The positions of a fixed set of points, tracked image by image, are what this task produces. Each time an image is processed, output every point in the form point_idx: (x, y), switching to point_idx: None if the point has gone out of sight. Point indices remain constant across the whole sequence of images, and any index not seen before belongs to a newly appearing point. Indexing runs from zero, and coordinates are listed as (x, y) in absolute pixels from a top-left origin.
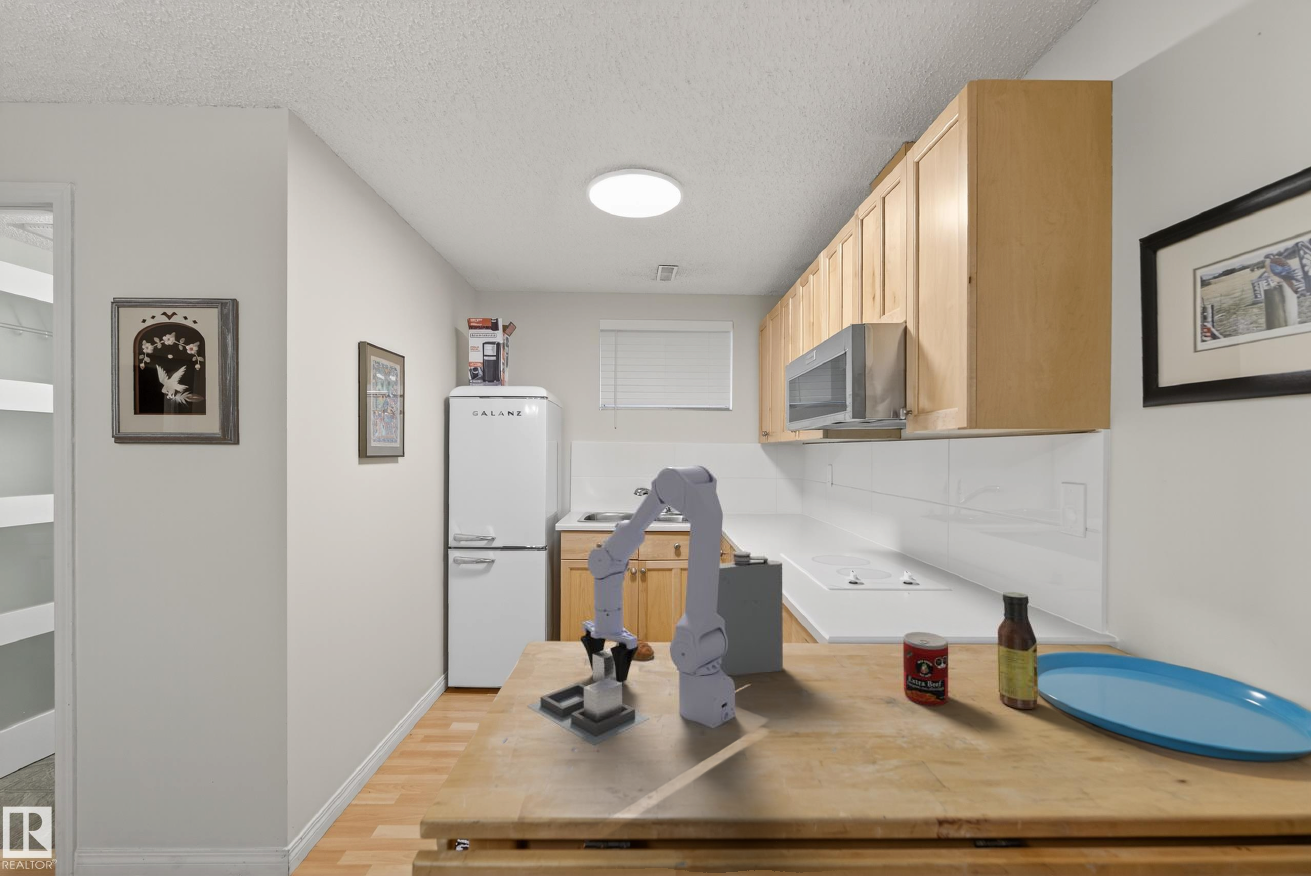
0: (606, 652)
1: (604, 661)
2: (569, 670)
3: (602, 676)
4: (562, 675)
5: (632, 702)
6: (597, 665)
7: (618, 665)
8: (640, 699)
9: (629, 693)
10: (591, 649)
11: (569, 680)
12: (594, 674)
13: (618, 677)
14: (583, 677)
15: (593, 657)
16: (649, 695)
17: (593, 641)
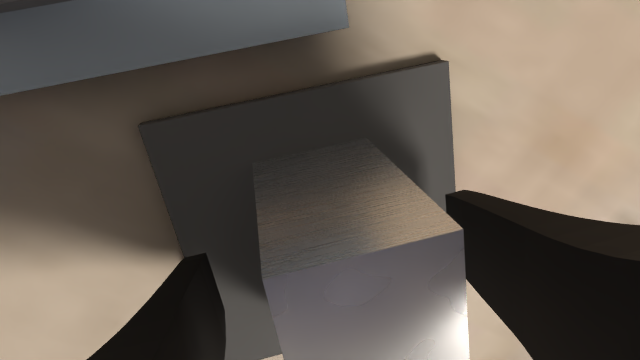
0: (400, 355)
1: (264, 265)
2: (634, 116)
3: (273, 188)
4: (614, 46)
5: (11, 234)
6: (351, 203)
7: (111, 341)
8: (33, 288)
9: (147, 269)
10: (563, 264)
11: (527, 49)
12: (368, 163)
13: (170, 274)
14: (502, 142)
15: (433, 216)
16: (64, 345)
17: (629, 342)
